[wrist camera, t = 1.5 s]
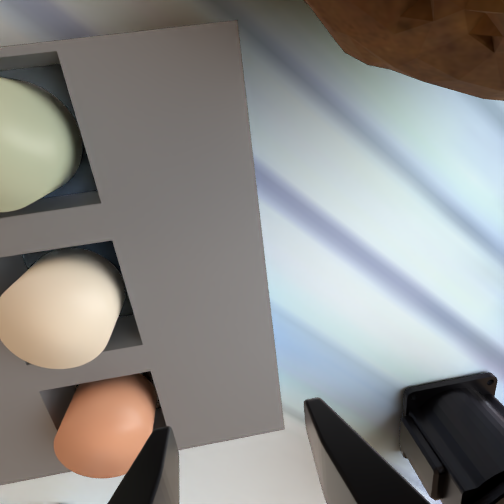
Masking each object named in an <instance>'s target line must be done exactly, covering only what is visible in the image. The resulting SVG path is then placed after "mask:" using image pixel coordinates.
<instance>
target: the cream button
mask: <svg viewBox="0 0 504 504" xmlns="http://www.w3.org/2000/svg"><path fill="white" fill-rule="evenodd" d="M125 294H126V292H125V284H124V281H123V278H122V276H121V274H120V273H119V271H118V270H117V268H116V267H115V266H114V265H113V264H112V263H111V262H110V261H109V260H107V259H106V258H104V257H103V256H101V255H99V254H97V253H95V252H92V251H90V250H86V249H81V248H62V249H57V250H54V251H52V252H49V253H48V254H46V255H44V256H43V257H41V258H40V259H39V260H38V261H37V262H36V263H35V264H34V265H33V266H32V267H30V268H29V269H28V270H27V271H26V272H25V273H24V274H23V275H22V276H21V277H20V278H19V279H18V280H17V281H15V282H14V283H13V284H12V285H11V286H10V287H9V288H8V289H7V290H6V291H5V292H4V293H3V294H2V295H1V297H0V340H1V341H2V342H3V344H4V345H5V346H6V347H7V348H8V349H9V350H10V351H11V352H12V353H13V354H14V355H16V356H17V357H19V358H20V359H22V360H24V361H26V362H28V363H31V364H33V365H36V366H40V367H44V368H49V369H68V368H74V367H78V366H81V365H84V364H86V363H88V362H90V361H92V360H93V359H95V358H96V357H97V356H98V355H99V354H100V353H101V352H102V351H103V350H104V349H105V347H106V345H107V343H108V341H109V339H110V336H111V334H112V331H113V329H114V326H115V324H116V321H117V319H118V316H119V314H120V311H121V309H122V306H123V304H124V301H125Z"/></svg>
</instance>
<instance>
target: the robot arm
mask: <svg viewBox="0 0 504 504" xmlns="http://www.w3.org/2000/svg"><path fill="white" fill-rule="evenodd" d="M496 385H497V378H496V377H495V376H494V375H493V374H492V373H483V374H477V375H472V376H467V377H462V378H457V379H452V380H446V381H441V382H436V383H431V384H426V385H421V386H415V387H411V388H408V389H407V390H406V391H405V392H404V400H403V416H402V418H401V423H400V439H399V444H400V446H401V448H400V451H401V453H402V455H403V457H404V458H408V460H409V461H410V463H411V465H412V467H413V468H414V470H415V472H416V474H417V475H418V477H419V479H420V480H421V482H422V484H423V486H424V487H425V489H426V491H427V493H428V494H429V496H430V497H431V498H432V499H434V500H439V499H440V500H441V502H442V504H504V406H503V405H502V404H501V403H500V402H499V401H498V400H497V399H496V398H495V397H494V395H495V390H496ZM304 412H305V424H306V430H307V434H308V438H309V442H310V445H311V449H312V453H313V457H314V461H315V464H316V468H317V472H318V476H319V480H320V484H321V487H322V491H323V494H324V497H325V500H326V503H327V504H430V502H428V501H427V500H426V499H425V498H424V497H423V496H422V495H421V494H420V493H419V492H418V491H417V490H416V489H415V488H414V487H413V486H412V485H411V484H410V483H409V482H408V481H407V480H406V479H404V478H403V477H402V476H401V475H400V474H399V473H398V472H397V471H396V470H395V469H394V468H393V467H392V466H391V465H390V464H389V463H388V462H387V461H386V460H385V459H384V458H383V457H382V456H380V455H379V454H378V453H377V452H376V451H375V450H374V449H373V448H372V447H371V446H370V445H369V444H368V443H367V442H366V441H365V440H364V439H363V438H362V437H361V436H360V435H359V434H358V433H356V432H355V431H354V430H353V429H352V428H351V427H350V426H349V425H348V424H347V423H346V422H345V421H344V420H343V419H342V418H341V417H340V416H339V415H338V414H337V413H336V412H335V411H334V410H332V409H331V408H330V407H329V406H328V405H327V404H326V403H325V402H324V401H323V400H322V399H321V398H319V397H317V398H311V399H306V400H305V401H304ZM108 504H179V452H178V447H177V444H176V440H175V437H174V433H173V430H172V428H171V427H170V426H166V427H160V428H156V429H154V430H153V431H152V433H151V434H150V436H149V438H148V439H147V441H146V443H145V444H144V446H143V447H142V449H141V451H140V452H139V454H138V455H137V457H136V459H135V460H134V462H133V464H132V465H131V467H130V468H129V470H128V472H127V473H126V475H125V476H124V478H123V480H122V481H121V483H120V485H119V486H118V488H117V489H116V491H115V493H114V494H113V496H112V497H111V499H110V501H109V502H108Z"/></svg>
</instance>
